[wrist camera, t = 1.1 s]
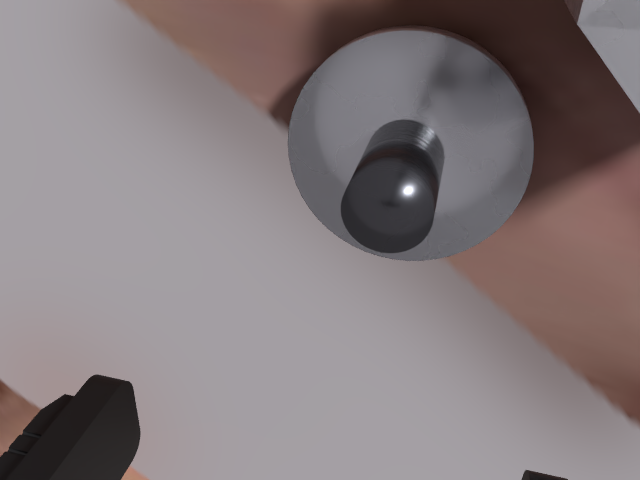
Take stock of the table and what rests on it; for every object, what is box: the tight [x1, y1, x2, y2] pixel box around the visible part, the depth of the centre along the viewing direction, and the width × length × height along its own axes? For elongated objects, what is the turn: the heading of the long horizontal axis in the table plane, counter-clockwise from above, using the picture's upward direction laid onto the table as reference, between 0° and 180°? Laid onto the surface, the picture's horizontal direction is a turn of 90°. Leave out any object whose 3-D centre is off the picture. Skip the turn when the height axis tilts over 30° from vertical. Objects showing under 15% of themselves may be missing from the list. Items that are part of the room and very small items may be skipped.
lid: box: [288, 25, 534, 261], centre depth 24 cm, size 10×10×8 cm
